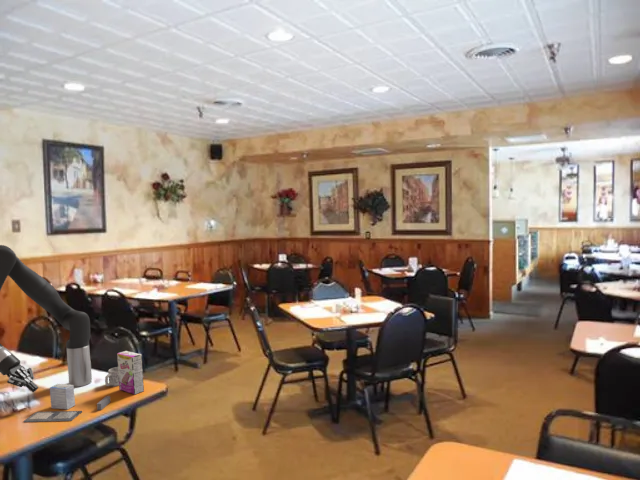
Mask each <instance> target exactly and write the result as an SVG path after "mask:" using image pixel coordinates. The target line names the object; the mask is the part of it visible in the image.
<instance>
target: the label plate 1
mask: <svg viewBox="0 0 640 480" xmlns="http://www.w3.org/2000/svg"><path fill="white" fill-rule="evenodd" d="M59 411H60V410H59ZM59 411H36V412H34V413H33V414H31V415H30V416H29V417H27V418H26V419H24V420H23V422H24V423H34V422H35V423H37V422H38V423H40V422H46V423H47V422H49V421H47V420H48V419H50V418H51V417H52V416H54V415H55V414H56V413H58V412H59Z"/></svg>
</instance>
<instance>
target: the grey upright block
mask: <svg viewBox="0 0 640 480" xmlns="http://www.w3.org/2000/svg"><path fill="white" fill-rule="evenodd" d="M74 388H75V387H74V385H69V383H68V384H66V383H65V384H64V383H57V384H55V385H52V386H50V387H49V396H50V397H49V398H50V407H51V409H55V410H57V409H58V410H70V409H72V408H73V407H74V406H76V399H75V389H74Z"/></svg>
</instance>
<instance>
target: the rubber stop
mask: <svg viewBox="0 0 640 480" xmlns="http://www.w3.org/2000/svg"><path fill="white" fill-rule="evenodd" d="M110 403H111V396H110V395H105V397H103V398H102V399H101V400H99V401H98V402H97V403H96V409H97V411H103V410H104V408H106V407H107V406H108V405H109V404H110Z"/></svg>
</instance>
